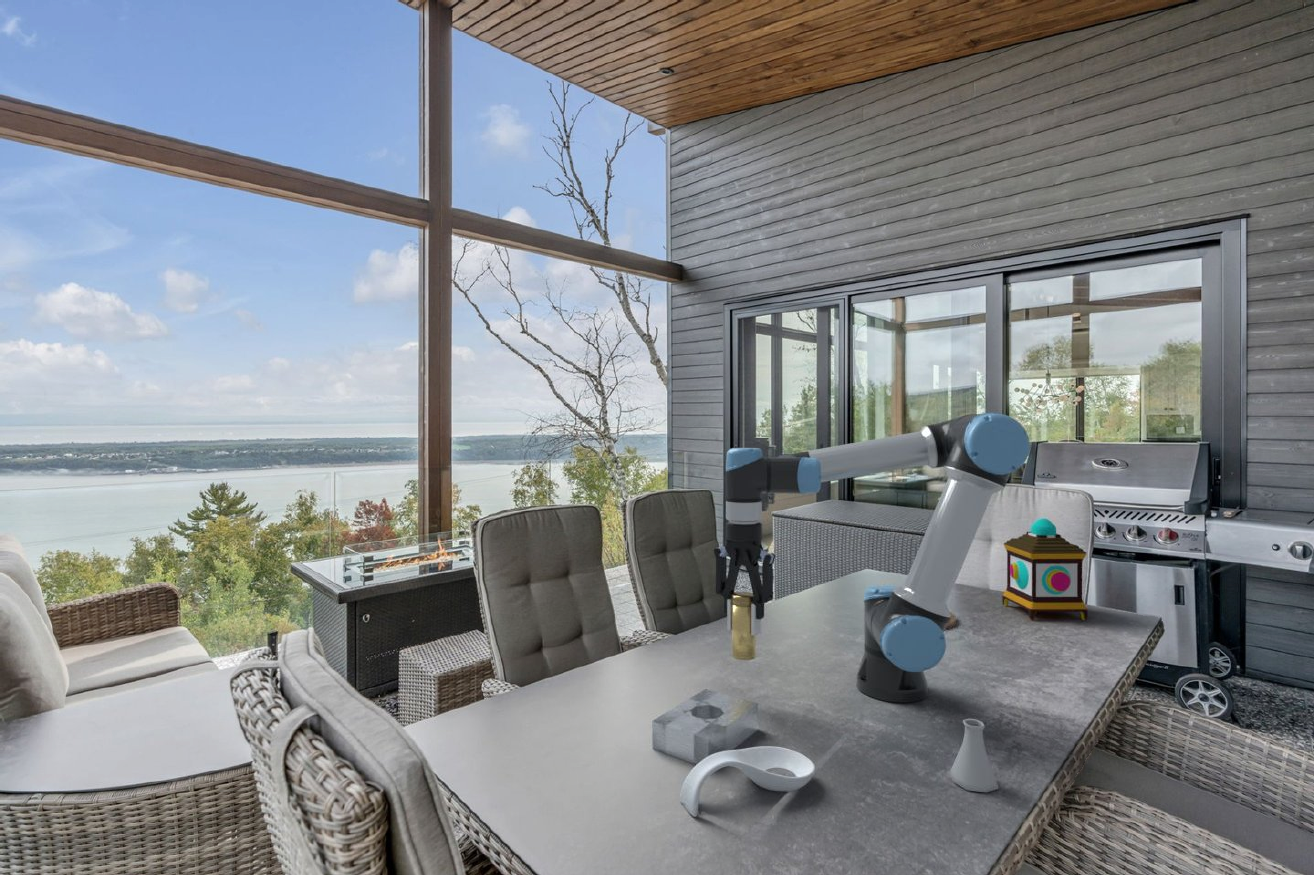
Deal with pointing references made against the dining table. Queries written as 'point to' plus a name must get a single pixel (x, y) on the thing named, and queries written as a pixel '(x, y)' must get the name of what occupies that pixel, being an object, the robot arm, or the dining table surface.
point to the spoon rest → (749, 771)
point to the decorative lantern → (1044, 572)
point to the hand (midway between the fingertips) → (743, 631)
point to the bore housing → (704, 726)
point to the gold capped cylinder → (742, 626)
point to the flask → (973, 761)
